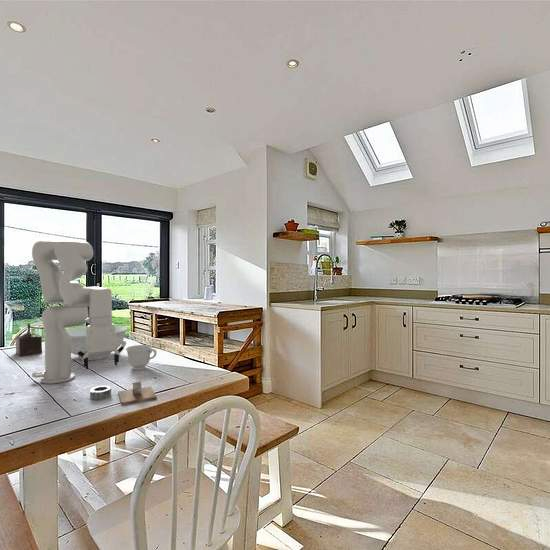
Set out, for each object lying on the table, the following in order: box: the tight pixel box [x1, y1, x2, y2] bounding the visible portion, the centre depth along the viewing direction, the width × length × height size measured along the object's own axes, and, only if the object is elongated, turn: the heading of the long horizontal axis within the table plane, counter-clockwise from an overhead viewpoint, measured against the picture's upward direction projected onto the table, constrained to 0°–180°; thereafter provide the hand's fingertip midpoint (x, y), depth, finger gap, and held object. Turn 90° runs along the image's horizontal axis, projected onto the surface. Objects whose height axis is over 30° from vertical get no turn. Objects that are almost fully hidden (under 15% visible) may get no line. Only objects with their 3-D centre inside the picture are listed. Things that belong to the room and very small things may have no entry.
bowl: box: [65, 324, 128, 361], centre depth 186 cm, size 32×32×15 cm
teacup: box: [125, 344, 157, 371], centre depth 166 cm, size 12×15×10 cm
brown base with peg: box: [117, 380, 157, 406], centre depth 131 cm, size 12×12×6 cm
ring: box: [89, 385, 112, 401], centre depth 130 cm, size 7×7×3 cm
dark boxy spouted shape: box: [15, 323, 44, 357], centre depth 193 cm, size 16×11×18 cm
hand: (101, 366), depth 130 cm, fingers open, 9 cm apart
